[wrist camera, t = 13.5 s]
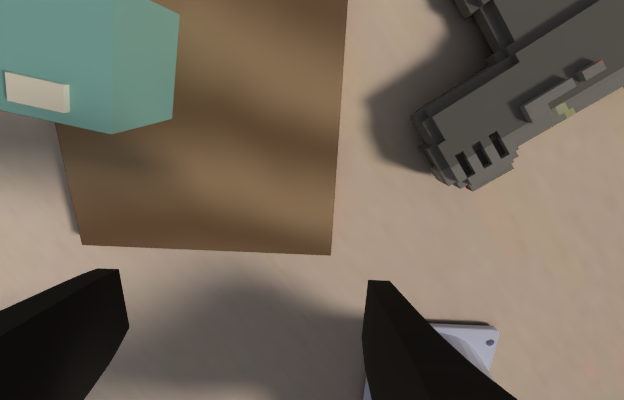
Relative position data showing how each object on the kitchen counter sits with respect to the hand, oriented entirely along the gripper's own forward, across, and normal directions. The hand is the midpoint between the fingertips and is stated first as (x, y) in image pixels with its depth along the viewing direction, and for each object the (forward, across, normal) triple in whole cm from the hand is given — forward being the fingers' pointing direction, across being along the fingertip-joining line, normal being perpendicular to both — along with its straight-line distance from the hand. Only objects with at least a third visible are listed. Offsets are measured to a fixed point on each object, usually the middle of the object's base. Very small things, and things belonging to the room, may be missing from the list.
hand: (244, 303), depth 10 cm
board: (+9, +4, -4) cm, 11 cm away
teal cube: (+8, +7, -7) cm, 13 cm away
